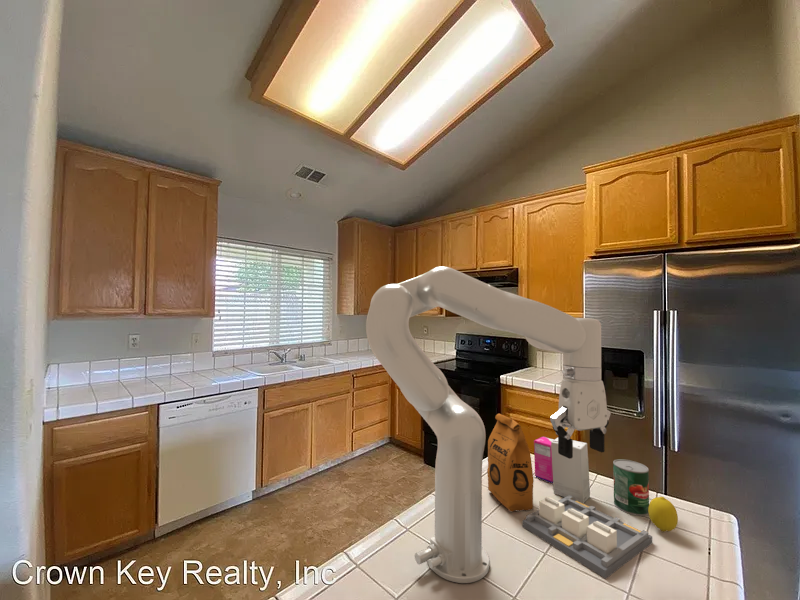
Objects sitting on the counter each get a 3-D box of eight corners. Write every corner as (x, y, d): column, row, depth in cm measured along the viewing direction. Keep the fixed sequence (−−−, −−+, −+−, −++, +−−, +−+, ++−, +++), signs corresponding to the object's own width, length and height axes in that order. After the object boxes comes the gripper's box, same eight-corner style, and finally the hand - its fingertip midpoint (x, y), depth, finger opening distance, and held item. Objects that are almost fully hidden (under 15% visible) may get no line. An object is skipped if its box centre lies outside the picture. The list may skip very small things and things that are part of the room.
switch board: (605, 578, 66) (605, 565, 66) (522, 526, 82) (522, 516, 82) (652, 543, 77) (652, 531, 77) (570, 503, 93) (570, 493, 93)
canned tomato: (618, 496, 97) (617, 456, 97) (652, 507, 91) (651, 465, 92) (610, 507, 91) (609, 464, 92) (646, 520, 86) (645, 474, 86)
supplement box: (543, 471, 112) (542, 435, 112) (561, 478, 107) (561, 441, 108) (533, 476, 108) (533, 439, 109) (552, 484, 104) (551, 445, 104)
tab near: (606, 557, 70) (606, 533, 70) (587, 545, 73) (587, 523, 73) (616, 550, 72) (616, 527, 72) (597, 539, 75) (597, 517, 75)
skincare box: (590, 497, 96) (589, 443, 97) (582, 505, 92) (582, 448, 93) (559, 486, 102) (559, 435, 103) (551, 493, 98) (550, 440, 99)
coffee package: (503, 515, 87) (503, 426, 88) (483, 490, 99) (483, 413, 100) (539, 511, 89) (539, 425, 90) (515, 487, 101) (515, 411, 102)
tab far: (554, 527, 80) (554, 506, 80) (539, 518, 83) (539, 498, 83) (564, 521, 82) (564, 501, 82) (549, 513, 85) (549, 494, 85)
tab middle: (579, 541, 75) (578, 519, 75) (561, 531, 78) (561, 510, 78) (589, 535, 77) (588, 513, 77) (571, 525, 80) (571, 505, 80)
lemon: (649, 521, 85) (648, 488, 85) (678, 531, 81) (677, 496, 82) (647, 532, 81) (647, 497, 81) (678, 542, 77) (677, 506, 77)
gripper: (567, 378, 69) (567, 466, 68) (624, 375, 76) (624, 454, 75) (538, 372, 76) (538, 452, 75) (593, 369, 83) (593, 442, 82)
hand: (581, 453), depth 75 cm, fingers open, 9 cm apart
